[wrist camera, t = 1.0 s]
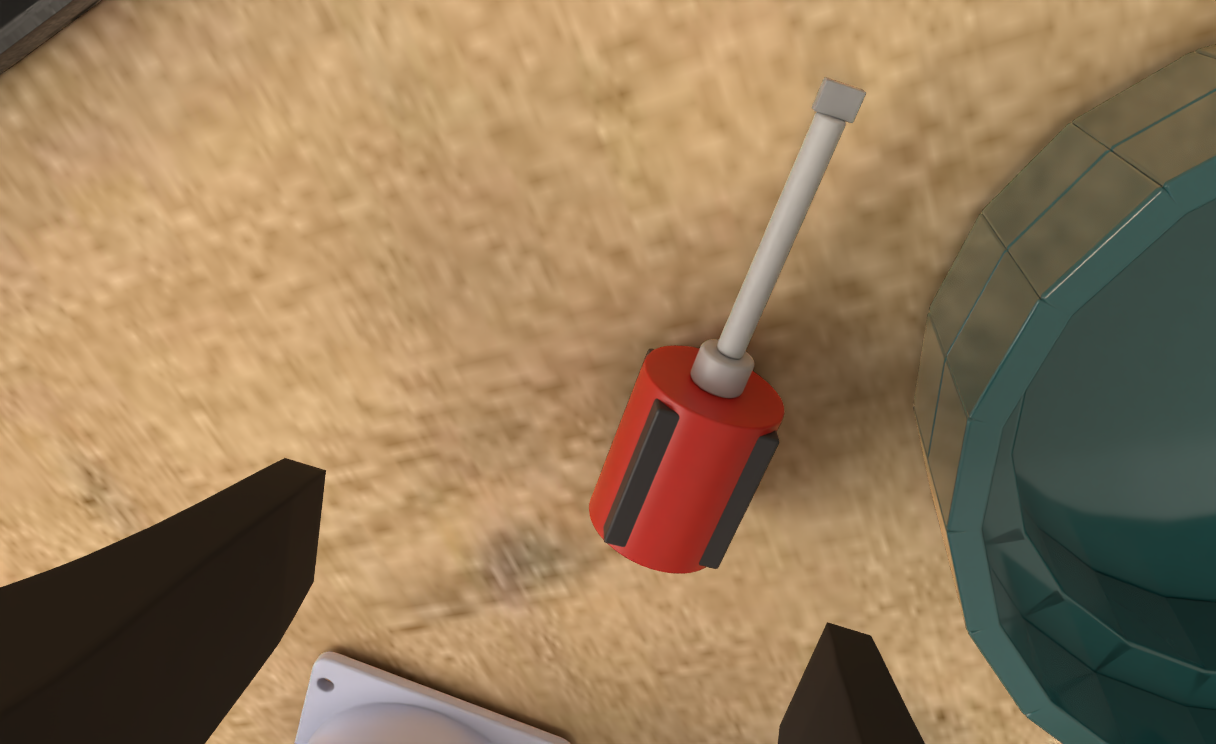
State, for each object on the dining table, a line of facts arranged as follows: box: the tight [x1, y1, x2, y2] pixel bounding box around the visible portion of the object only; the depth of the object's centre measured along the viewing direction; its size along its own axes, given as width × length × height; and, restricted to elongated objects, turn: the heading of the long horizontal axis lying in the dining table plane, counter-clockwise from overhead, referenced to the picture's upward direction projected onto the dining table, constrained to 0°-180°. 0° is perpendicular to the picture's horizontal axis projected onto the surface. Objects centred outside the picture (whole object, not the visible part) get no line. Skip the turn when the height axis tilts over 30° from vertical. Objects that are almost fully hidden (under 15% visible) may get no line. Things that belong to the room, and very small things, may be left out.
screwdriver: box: [589, 77, 866, 574], centre depth 20 cm, size 11×3×3 cm, turn 162°
